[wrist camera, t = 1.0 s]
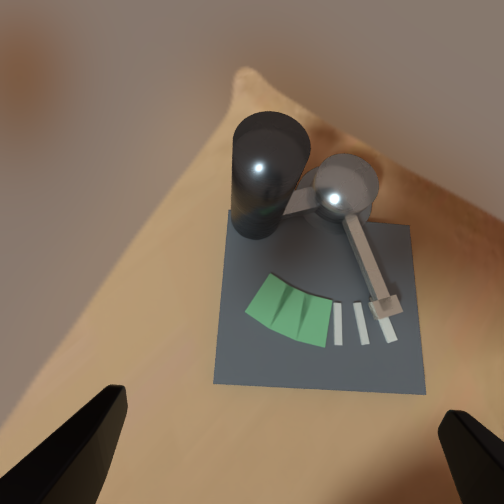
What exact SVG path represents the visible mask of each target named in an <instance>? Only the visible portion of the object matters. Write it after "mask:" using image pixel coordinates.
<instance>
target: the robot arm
mask: <svg viewBox="0 0 504 504" xmlns="http://www.w3.org/2000/svg"><path fill="white" fill-rule="evenodd" d="M127 409H128V404H127V396H126V389H125V387H124V386H123V385H113V384H112V385H108V386H107V387H105V388H104V389H103V390H102V391H101V392H99V393H98V394H97V395H96V396H95V397H94V398H93V399H91V400H90V401H89V402H88V403H87V404H86V405H84V406H83V407H82V408H81V409H80V410H79V411H78V412H76V413H75V414H74V415H73V416H72V417H71V418H69V419H68V420H67V421H66V422H65V423H64V424H63V425H61V426H60V427H59V428H58V429H57V430H56V431H54V432H53V433H52V434H51V435H50V436H49V437H48V438H46V439H45V440H44V441H43V442H42V443H41V444H39V445H38V446H37V447H36V448H35V449H34V450H33V451H31V452H30V453H29V454H28V455H27V456H26V457H24V458H23V459H22V460H21V461H20V462H19V463H18V464H16V465H15V466H14V467H13V468H12V469H11V470H9V471H8V472H7V473H6V474H5V475H4V476H3V477H1V478H0V504H95V503H96V501H97V499H98V496H99V494H100V491H101V489H102V487H103V484H104V482H105V479H106V476H107V474H108V471H109V468H110V465H111V461H112V458H113V455H114V452H115V449H116V446H117V443H118V439H119V436H120V433H121V430H122V427H123V424H124V421H125V418H126V414H127ZM438 437H439V440H440V443H441V446H442V449H443V451H444V454H445V457H446V460H447V463H448V466H449V468H450V471H451V474H452V477H453V480H454V483H455V485H456V488H457V491H458V494H459V496H460V499H461V501H462V504H504V442H503V441H502V440H501V439H500V438H498V437H497V436H496V435H495V434H493V433H492V432H491V431H490V430H488V429H487V428H486V427H485V426H483V425H482V424H481V423H480V422H478V421H477V420H476V419H475V418H473V417H472V416H471V415H470V414H468V413H467V412H465V411H461V410H449V411H447V413H446V414H445V416H444V418H443V420H442V422H441V424H440V425H439V427H438Z"/></svg>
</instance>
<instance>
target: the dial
mask: <svg viewBox="0 0 504 504" xmlns="http://www.w3.org/2000/svg"><path fill="white" fill-rule="evenodd" d="M310 149H311V148H310V140H309V137H308V134H307V132H306V131H305V129H304V128H303V127H302V126H301V124H300V123H298V122H297V121H296V120H295V119H293V118H291V117H290V116H288V115H285V114H282V113H279V112H272V111H265V112H259V113H255V114H253V115H250V116H248V117H247V118H245V119H244V120H243V121H242V122H241V123H240V124H239V125H238V127H237V128H236V130H235V133H234V136H233V152H232V189H231V222H232V225H233V227H234V229H235V230H236V231H237V232H238V233H239V234H240V235H241V236H243V237H245V238H248V239H252V240H261V239H264V238H267V237H269V236H270V235H272V234H273V233H274V232H275V230H276V229H277V227H278V225H279V222H280V221H281V220H285V219H289V218H293V217H297V216H301V215H305V214H309V213H313V212H315V213H316V214H317V215H318V216H319V217H320V218H322V219H324V220H326V221H328V222H331V223H337V224H341V223H342V224H343V227H344V229H345V232H346V234H347V237H348V239H349V242H350V244H351V247H352V249H353V252H354V254H355V257H356V259H357V262H358V264H359V267H360V269H361V272H362V274H363V277H364V279H365V282H366V284H367V287H368V289H369V292H370V294H371V297H372V299H373V302H369V303H368V306H369V308H370V311H371V313H372V316H373V318H374V320H380V319H383V318H386V317H389V316H392V315H395V314H398V313H401V312H403V310H402V307H401V305H400V303H399V300H398V298H397V296H396V295H392V296H390V295H389V292H388V290H387V288H386V285H385V283H384V280H383V278H382V275H381V273H380V271H379V268H378V266H377V263H376V261H375V259H374V256H373V254H372V251H371V249H370V247H369V244H368V242H367V239H366V237H365V235H364V232H363V230H362V227H361V225H360V223H359V220H358V218H357V216H358V215H359V214H360V213H361V212H362V211H364V210H365V209H366V208H367V207H368V206H369V205H370V204H371V203H372V202H373V201H374V200H375V198H376V196H377V194H378V190H379V181H378V177H377V175H376V173H375V171H374V169H373V168H372V167H371V166H370V164H368V163H367V162H366V161H365V160H363V159H362V158H360V157H358V156H355V155H352V154H345V153H344V154H336V155H333V156H330V157H328V158H327V159H326V160H324V161H323V162H322V164H321V165H320V167H319V169H318V170H317V172H316V174H315V176H314V178H313V180H312V182H311V184H310V186H309V187H308V188H304V189H300V190H296V191H294V189H295V187H296V185H297V183H298V180H299V178H300V176H301V174H302V171H303V169H304V167H305V165H306V163H307V160H308V158H309V155H310Z"/></svg>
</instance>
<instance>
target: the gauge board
mask: <svg viewBox="0 0 504 504" xmlns="http://www.w3.org/2000/svg"><path fill="white" fill-rule="evenodd" d="M319 167H320V166H319ZM319 167H316V168H314V169H312V170H310V171H309V172H307V173H306V174H305V175H304V176H303V178H302V179H301V181H300V182H299V185H298V187H297V189H296V190H300V189H304V188H308V187H309V186H310V184H311V182H312V180H313V178H314V176H315V174H316V172H317V170H318V169H319ZM371 208H372V203H371V204H370V205H369V206H368V207H367V208H366V209H365V210H364V211H362V212H361V213H360V214H359V215H358V216H357V218H358V220H359V223H360V225H361V227H362V230H363V232H364V235H365V237H366V239H367V242H368V244H369V247H370V249H371V251H372V254H373V256H374V259H375V261H376V263H377V266H378V268H379V271H380V273H381V275H382V278H383V280H384V283H385V285H386V288H387V290H388V292H389V295H390V296H392V295H396V296H397V298H398V300H399V303H400V305H401V307H402V310H403V312H401V313H398V314H395V315H392V316H389V317H386V318H383V319H380V320H374V318H373V316H372V313H371V311H370V308H369V306H368V303H369V302H373V299H372V297H371V294H370V292H369V289H368V287H367V284H366V282H365V279H364V277H363V274H362V272H361V269H360V267H359V264H358V262H357V259H356V257H355V254H354V252H353V249H352V247H351V244H350V242H349V239H348V237H347V234H346V232H345V229H344V227H343V224H342V223H341V224H337V223H331V222H328V221H326V220H324V219H322V218H320V217H319V216H318V215H317V214H316V213H315V212H313V213H309V214H305V215H301V216H297V217H293V218H289V219H285V220H281V221H280V222H279V225H278V227H277V229H276V230H275V232H274V233H273V234H272V235H270V236H269V237H267V238H264V239H261V240H252V239H248V238H245V237H243V236H241V235H240V234H239V233H238V232H237V231H236V230H235V229H234V227H233V225H232V222H231V210H229V213H228V224H227V235H226V246H225V257H224V269H223V280H222V291H221V302H220V314H219V325H218V336H217V347H216V358H215V370H214V381H213V384H226V385H245V386H265V387H284V388H303V389H322V390H341V391H360V392H379V393H398V394H417V395H426V387H425V377H424V367H423V357H422V347H421V337H420V327H419V317H418V307H417V297H416V287H415V277H414V267H413V257H412V247H411V237H410V227H409V225H399V224H387V223H376V222H366V221H367V220H368V218H369V216H370V213H371Z"/></svg>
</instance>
